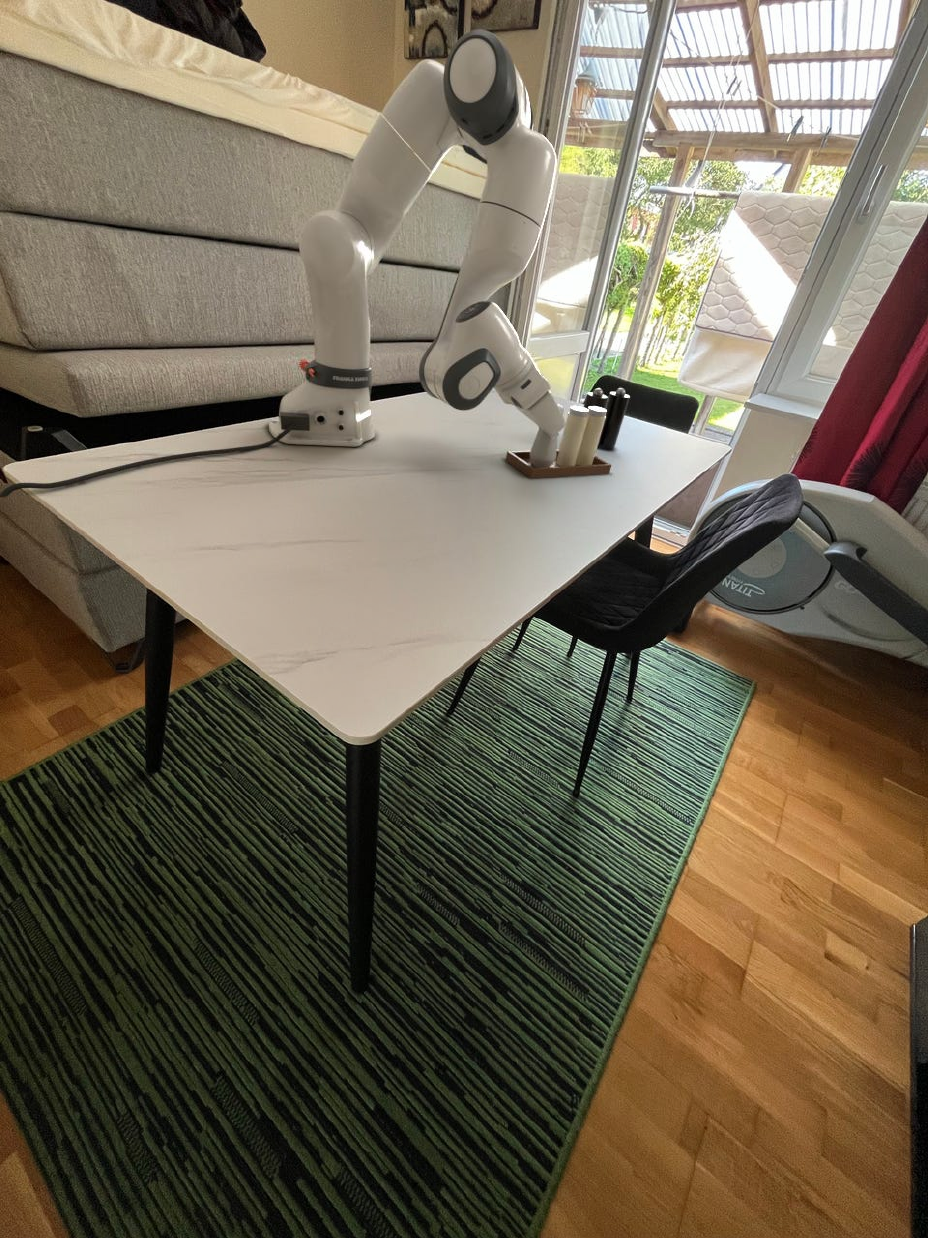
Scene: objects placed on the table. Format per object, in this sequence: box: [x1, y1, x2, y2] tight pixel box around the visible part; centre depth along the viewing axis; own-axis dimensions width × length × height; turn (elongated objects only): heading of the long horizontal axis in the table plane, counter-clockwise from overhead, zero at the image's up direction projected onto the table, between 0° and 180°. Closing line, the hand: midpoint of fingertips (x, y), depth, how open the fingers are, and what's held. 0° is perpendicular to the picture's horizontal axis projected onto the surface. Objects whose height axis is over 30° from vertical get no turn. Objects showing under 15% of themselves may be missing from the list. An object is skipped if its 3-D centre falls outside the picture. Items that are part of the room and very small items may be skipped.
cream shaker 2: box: [576, 406, 607, 466], centre depth 116 cm, size 4×4×12 cm
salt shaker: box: [529, 403, 564, 468], centre depth 110 cm, size 6×6×13 cm
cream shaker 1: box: [556, 405, 589, 466], centre depth 113 cm, size 4×4×12 cm
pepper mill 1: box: [582, 387, 609, 409], centre depth 126 cm, size 5×5×14 cm
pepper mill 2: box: [597, 387, 631, 451], centre depth 130 cm, size 5×5×14 cm
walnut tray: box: [505, 449, 612, 479], centre depth 116 cm, size 22×11×2 cm, turn 117°
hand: (550, 433), depth 110 cm, fingers closed on salt shaker, 3 cm apart
